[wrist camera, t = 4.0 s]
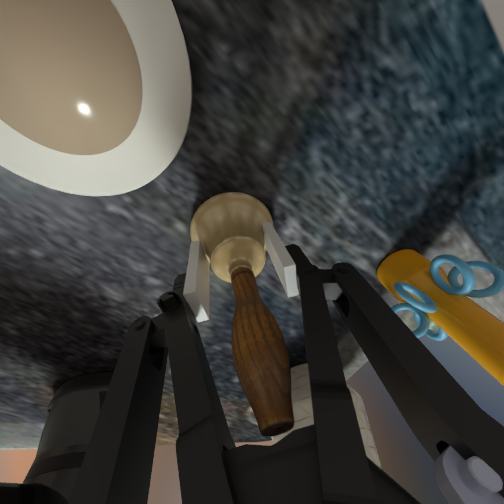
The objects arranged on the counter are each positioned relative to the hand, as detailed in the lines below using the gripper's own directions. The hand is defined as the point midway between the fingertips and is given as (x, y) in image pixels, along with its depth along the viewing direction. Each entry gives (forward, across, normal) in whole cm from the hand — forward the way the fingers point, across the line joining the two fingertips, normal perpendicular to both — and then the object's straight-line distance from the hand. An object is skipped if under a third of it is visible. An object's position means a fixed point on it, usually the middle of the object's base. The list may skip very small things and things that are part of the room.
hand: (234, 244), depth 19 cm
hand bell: (+3, 0, 0) cm, 3 cm away
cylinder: (+3, +20, -12) cm, 24 cm away
